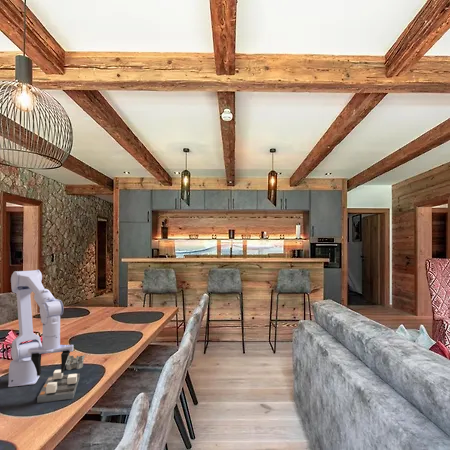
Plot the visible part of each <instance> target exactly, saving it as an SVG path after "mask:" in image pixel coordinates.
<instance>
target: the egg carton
mask: <svg viewBox="0 0 450 450" xmlns="http://www.w3.org/2000/svg"><path fill="white" fill-rule="evenodd" d="M85 357H86V355H85V354H84V355H80V356H78V355H77V356H76V357H74V355H72V354H71V355H70V354H69V355H68V358H67V361H66V364H65V369H66V370H68V371H72V369H73V370H74V369H76V370H79V369H82V368H83V366H84V360H85Z"/></svg>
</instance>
